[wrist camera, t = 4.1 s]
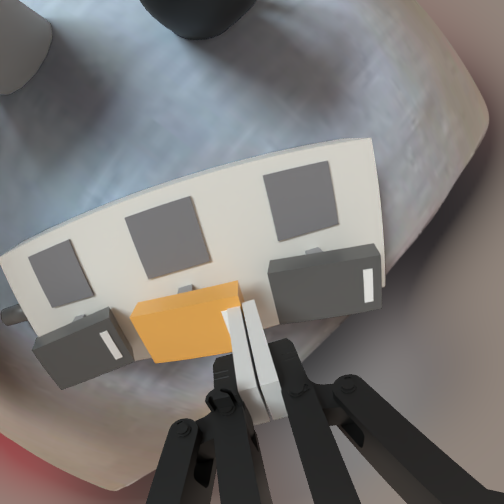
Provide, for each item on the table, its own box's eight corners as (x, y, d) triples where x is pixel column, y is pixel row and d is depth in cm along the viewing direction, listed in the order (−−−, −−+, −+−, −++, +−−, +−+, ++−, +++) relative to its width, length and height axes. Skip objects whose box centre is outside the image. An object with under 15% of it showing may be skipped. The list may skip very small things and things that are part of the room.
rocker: (281, 308, 20) (279, 325, 18) (269, 260, 19) (266, 274, 17) (375, 294, 19) (381, 309, 17) (373, 243, 17) (381, 255, 15)
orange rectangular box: (160, 346, 19) (155, 364, 17) (137, 302, 18) (129, 318, 16) (253, 330, 19) (254, 348, 17) (237, 280, 17) (237, 295, 15)
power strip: (41, 351, 23) (23, 382, 18) (-9, 258, 19) (-38, 280, 14) (360, 265, 26) (391, 291, 21) (342, 138, 21) (378, 137, 16)
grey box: (63, 376, 17) (61, 390, 15) (36, 337, 16) (31, 351, 14) (132, 348, 19) (134, 362, 18) (109, 306, 18) (108, 318, 16)
